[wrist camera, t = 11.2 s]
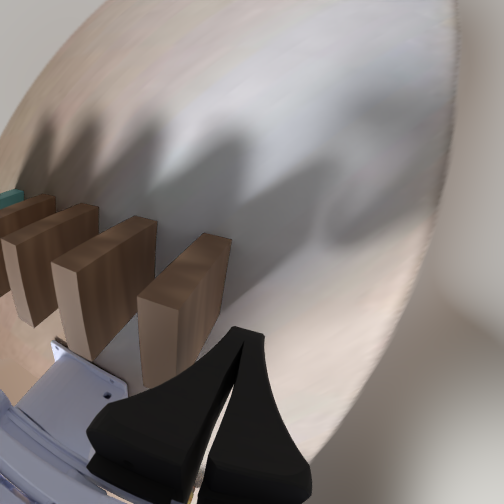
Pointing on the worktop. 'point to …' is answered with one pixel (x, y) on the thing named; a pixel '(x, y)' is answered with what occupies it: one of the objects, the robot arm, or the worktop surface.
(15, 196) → the domino
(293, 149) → the worktop surface
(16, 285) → the domino
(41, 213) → the domino
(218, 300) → the domino
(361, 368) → the worktop surface
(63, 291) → the domino
